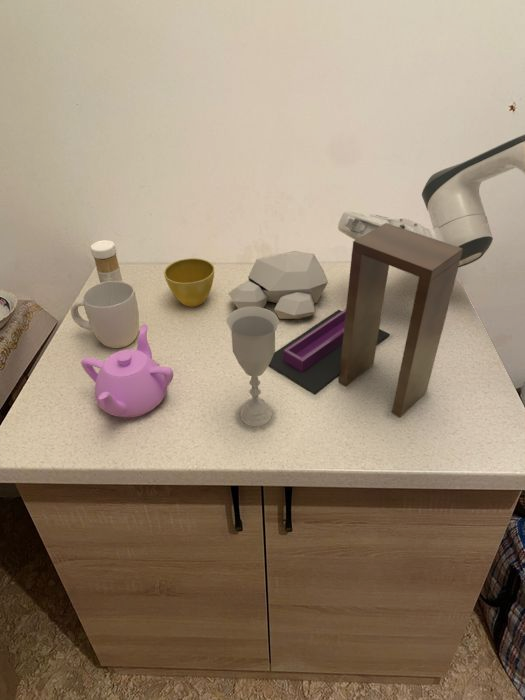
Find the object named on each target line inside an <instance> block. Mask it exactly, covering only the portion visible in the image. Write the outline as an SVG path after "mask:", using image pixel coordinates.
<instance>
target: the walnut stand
mask: <svg viewBox="0 0 525 700" xmlns="http://www.w3.org/2000/svg"><path fill="white" fill-rule="evenodd" d="M462 251H463V248H460V247H457V246H454V245H451V244H448V243H445V242H442V241H439V240H436V239H433V238H430V237H427V236H424V235H421V234H418V233H415V232H412V231H409V230H406V229H403V228H400V227H397V226H394V225H391V224H388V223H385V224H383V225H381V226H380V227H378V228H376V229H374V230H372V231H371V232H369V233H367V234H365V235H364V236H362V237H360V238H358V239H356V240H355V239H354V240H353V241H352V250H351V260H350V268H349V278H348V288H347V297H346V307H345V309H346V315H345V325H344V335H343V344H342V354H341V363H340V373H339V376H338V383H339V384H341V385H342V386H344V387H348V386H349V385H351V384H352V383H353V381H355V380H356V379H357V378H359V377H360V376H361V375H363V374H364V373H365V372H366V371H367V370H369V368H371V367H372V366H373V365H375V358H376V353H377V352H376V351H377V346H378V345H377V339H378V333H379V329H380V326H381V320H382V313H383V308H384V307H383V306H384V301H385V296H386V295H385V294H386V288H387V281H388V276H389V269H390V267H392V268H395V269H398V270H400V271H403V272H405V273H408V274H411V275H413V276H416V277H418V281H417V284H416V285H417V286H416V290H415V296H414V300H413V305H412V311H411V315H410V320H409V325H408V330H407V335H406V340H405V344H404V349H403V355H402V359H401V365H400V369H399V374H398V378H397V383H396V389H395V394H394V397H393V398H394V399H393V404H392V409H391V414H392V415H394V416H396V417H398V418H402V417H403V416H404V415H405V414H406V413H407V412H408V411H409V410H410V409H411V408H412V407H413V406H414V405H415V404H416V403H417V402H418V401H419V400H420V399H421V398H422V397H423V396H424V395H425V394H426V393H428V388H429V384H430V381H431V376H432V373H433V368H434V366H435V360H436V357H437V353H438V348H439V345H440V341H441V336H442V333H443V330H444V326H445V321H446V317H447V314H448V309H449V306H450V301H451V299H452V294H453V290H454V287H455V282H456V278H457V274H458V271H459V268H460V267H459V263H460V259H461V255H462ZM376 345H377V346H376Z"/></svg>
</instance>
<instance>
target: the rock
mask: <svg viewBox="0 0 525 700" xmlns="http://www.w3.org/2000/svg"><path fill="white" fill-rule="evenodd" d="M247 277H248V280H246V281H245V282H243V283H241V284H240V285H238V286H236V287H235V288H234V289H232V290H230V291H229V292H228V295H229V297H230V300H231V301H232V303H233V304H234V305H235V307H236V308H237V309H239V308H243V307H261V308H264V307H265V306H266V304H267V302H269V303H275V304H276V305H275V307H274V309H273V310H274V312H275V313H276V316H277V317H278V319H279V320H301V319H304V318H308V317H311V316H315V314H316V308H315V304H317V303H318V301H319V300H320V297H321V296H322V294H323V293H324V291H325V289H326V287H327V285H328V283H329V281H328V277H327V275H326V273H325V270H324V269H323V267H322V265H321V263H320V261H319V259H318V258H317V257H316V255H315V254H314V253H311V252H305V251H298V250H293V251H287V252H281V253H276V254H272V255H268V256H263V257H259V258H256V260H255V262H254V264H253V266H252V267H251V269H250V272H249V274H248V275H247Z"/></svg>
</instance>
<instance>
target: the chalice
mask: <svg viewBox="0 0 525 700" xmlns="http://www.w3.org/2000/svg"><path fill="white" fill-rule="evenodd" d="M226 324H227V327H228V328H229V330H230V331H231V347H232V353H233V355H234V357H235V359H236V361H237V363H238V365H239V366H240V367H241V369H242V370H243V371H244V373H245V374H246V375H247V376H250V377H251V379H250V380H249V381H248V382H249V383H248V384H249V385H250V386H251V388H250V389H249V391H248V392H249V394H250V395H251V398H249V399H247V400H246V401H245V402H244V403H243V406H242V408H241V409H240V412H239V418H240V420H241V421H242V422H243V423H244V424H245V425H248V426H251V427H252V426H253V427H260V426H264V425H266V424H268V423H269V422H270V421H271V419H272V416H273V412H272V409H271V408H270V407H269V405H268V403H267V401H266V400H264V399H263V398H261V397H259V396H260V395H261V393H262V390H261V389H260V388H259V386H260V384H261V381H260V380H259V377H260V376H262V375H263V374H264V373H265V371H266V370H267V368H268V367H269V366H268V365H269V364H270V362H271V359H272V357H273V355H274V353H275V352H276V330H277V328H278V326H279V324H280V321H279V317H278V315H277V314H275V313H274V312H273V311H272V310H270V309H267V308H264V307H263V308H261V307H243V308H239V309H238V308H237V309H235V310H233V311H232V312H230V313H229V314H228V316H227V318H226Z"/></svg>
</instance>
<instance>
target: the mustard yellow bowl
mask: <svg viewBox="0 0 525 700" xmlns="http://www.w3.org/2000/svg"><path fill="white" fill-rule="evenodd" d="M163 275H164V278H165V281H166V283H167V285H168V287H169V290H170V291H171V292H172V294H173V295H174V297H175V298H176V299H177V300H178V302H180V303H181V304H182V305H184V306H185V307H192V308H193V307H197V306H201V305H202V304H204V303H205V302H206V300H207V298H208V297H209V295H210V292H211V289H212V286H213V283H214V277H215V266H214V264H213V263H211V262H210V261H208V260H206V259H202V258H193V257H192V258H184V259H179V260H175V261H174V262H171V263H170V264H169V265H167V266H166V267H165V269H164V271H163Z"/></svg>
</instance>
